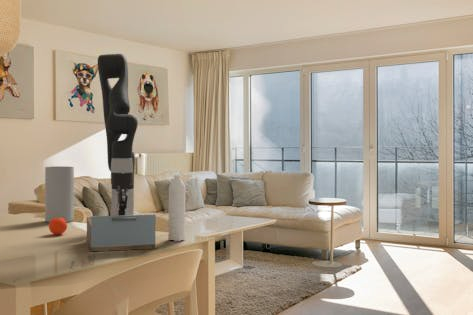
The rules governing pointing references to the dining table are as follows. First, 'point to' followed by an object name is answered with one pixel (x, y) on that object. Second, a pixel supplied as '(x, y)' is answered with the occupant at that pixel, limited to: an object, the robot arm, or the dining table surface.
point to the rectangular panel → (122, 230)
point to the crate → (112, 246)
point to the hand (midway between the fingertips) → (121, 220)
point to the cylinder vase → (59, 193)
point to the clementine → (57, 226)
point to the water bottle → (177, 209)
